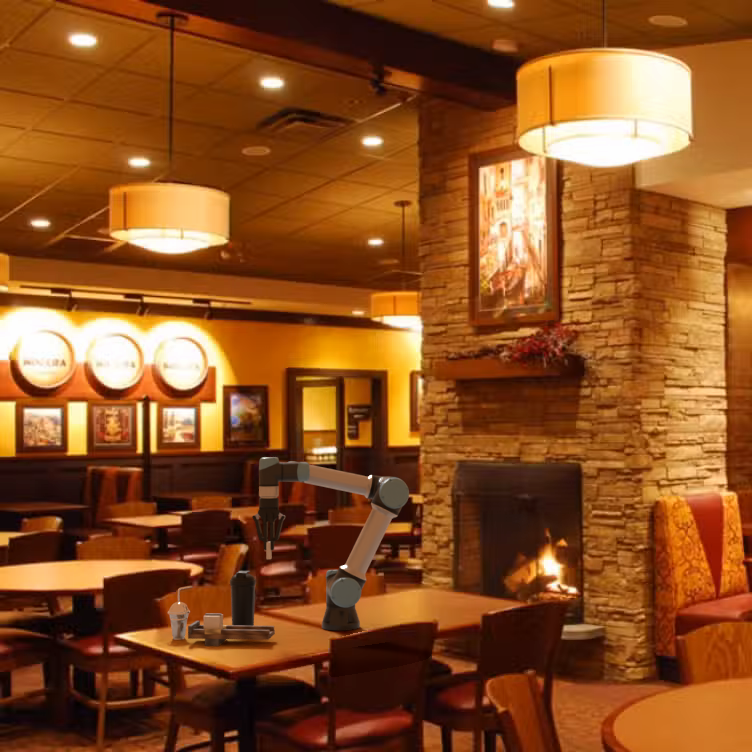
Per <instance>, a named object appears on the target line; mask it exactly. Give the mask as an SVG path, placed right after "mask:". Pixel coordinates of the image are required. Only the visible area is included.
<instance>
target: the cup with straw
mask: <svg viewBox="0 0 752 752" xmlns="http://www.w3.org/2000/svg"><path fill="white" fill-rule="evenodd" d="M191 588H193V585H187V586H182V587H179V588H178V589H177V601H176V602H174V603H173V604H172V605H170V608H169V610H168V611H167V614H168V615H169V619H170V625H171V634H172V639H173V640H175V641H177V640H180V641H181V640H184V639H185V640H186V637H185V636H186V631H187V623H188V617H189V614H190V613H191V610H190V609H189V608H188V605H187V603H185V602H182V601H181V600H180V598H181V597H180V595H181V594H180V591H181V590H184V589H185V590H187V589H191Z"/></svg>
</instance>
